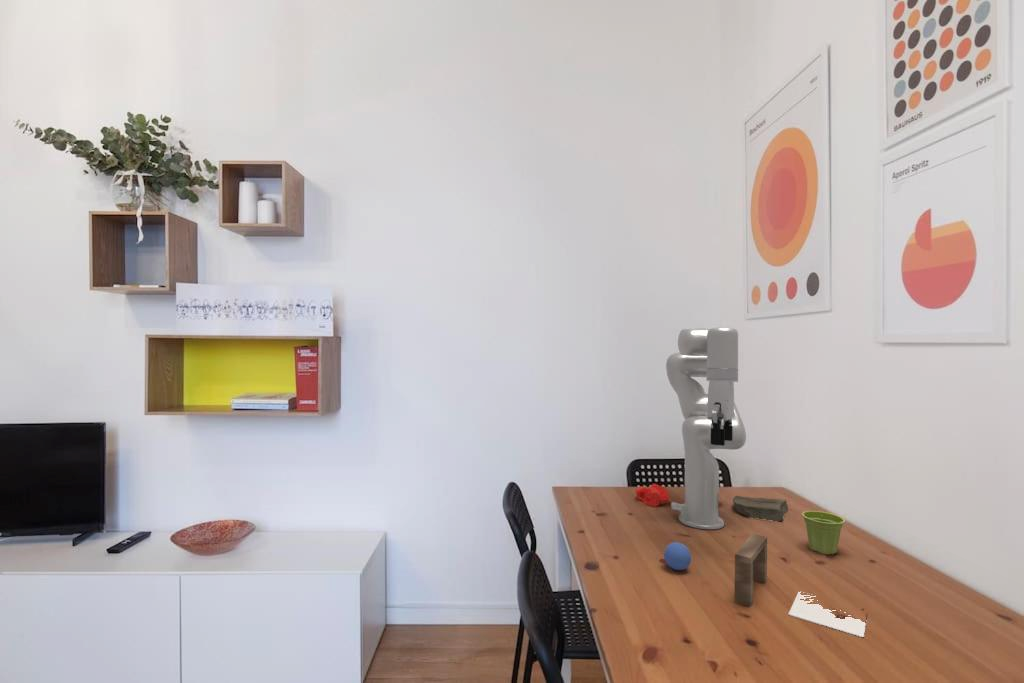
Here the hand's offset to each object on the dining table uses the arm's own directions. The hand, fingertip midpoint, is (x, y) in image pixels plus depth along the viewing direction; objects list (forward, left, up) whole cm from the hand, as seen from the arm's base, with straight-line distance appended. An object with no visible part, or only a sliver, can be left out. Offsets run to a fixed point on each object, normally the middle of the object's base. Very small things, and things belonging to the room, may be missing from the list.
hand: (721, 442), depth 127 cm
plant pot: (+20, +18, -28) cm, 39 cm away
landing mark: (+25, -18, -28) cm, 41 cm away
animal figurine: (-31, +30, -28) cm, 52 cm away
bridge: (+11, -18, -28) cm, 35 cm away
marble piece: (+1, +40, -28) cm, 49 cm away
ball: (-5, -18, -25) cm, 31 cm away
